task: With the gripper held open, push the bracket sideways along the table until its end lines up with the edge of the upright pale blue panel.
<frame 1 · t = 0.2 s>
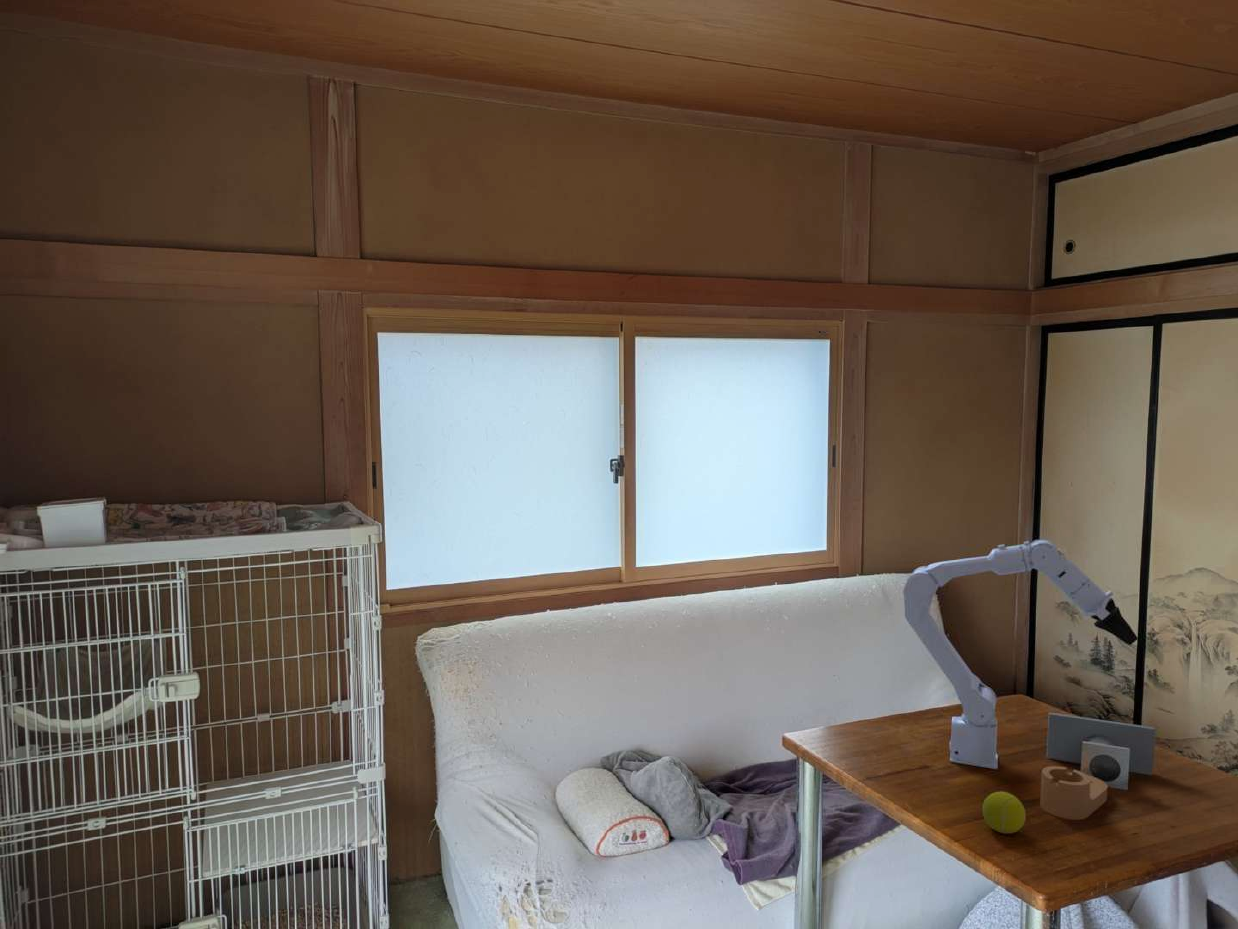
hand: (1131, 637, 172), 31 cm above the table, tool tilted 45°, fingers open, 7 cm apart
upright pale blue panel: (1100, 775, 179), on the table
tennis ball: (1002, 832, 155), on the table
bracket: (1073, 803, 167), on the table
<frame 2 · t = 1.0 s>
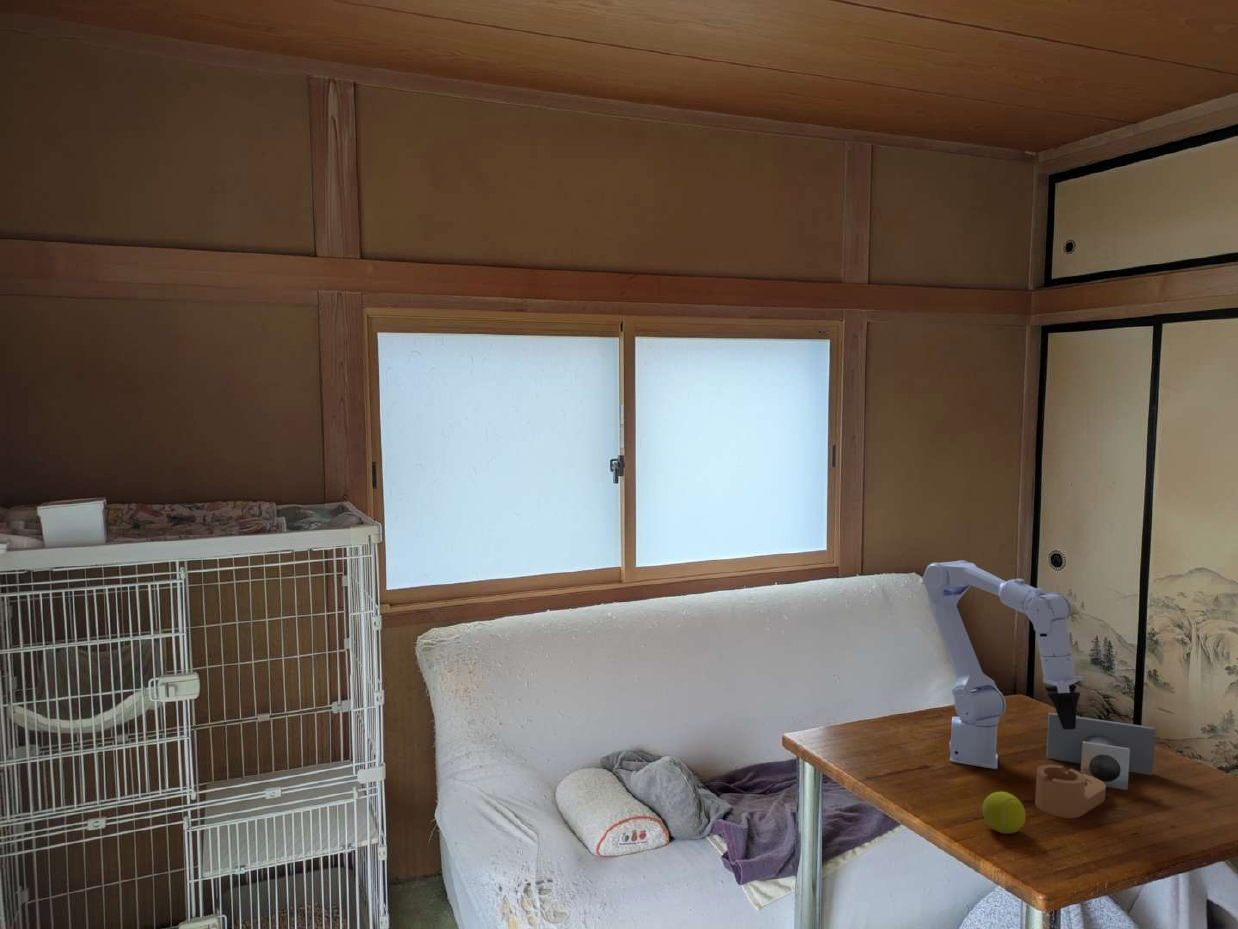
hand: (1067, 725, 166), 15 cm above the table, tool pointing down, fingers open, 7 cm apart
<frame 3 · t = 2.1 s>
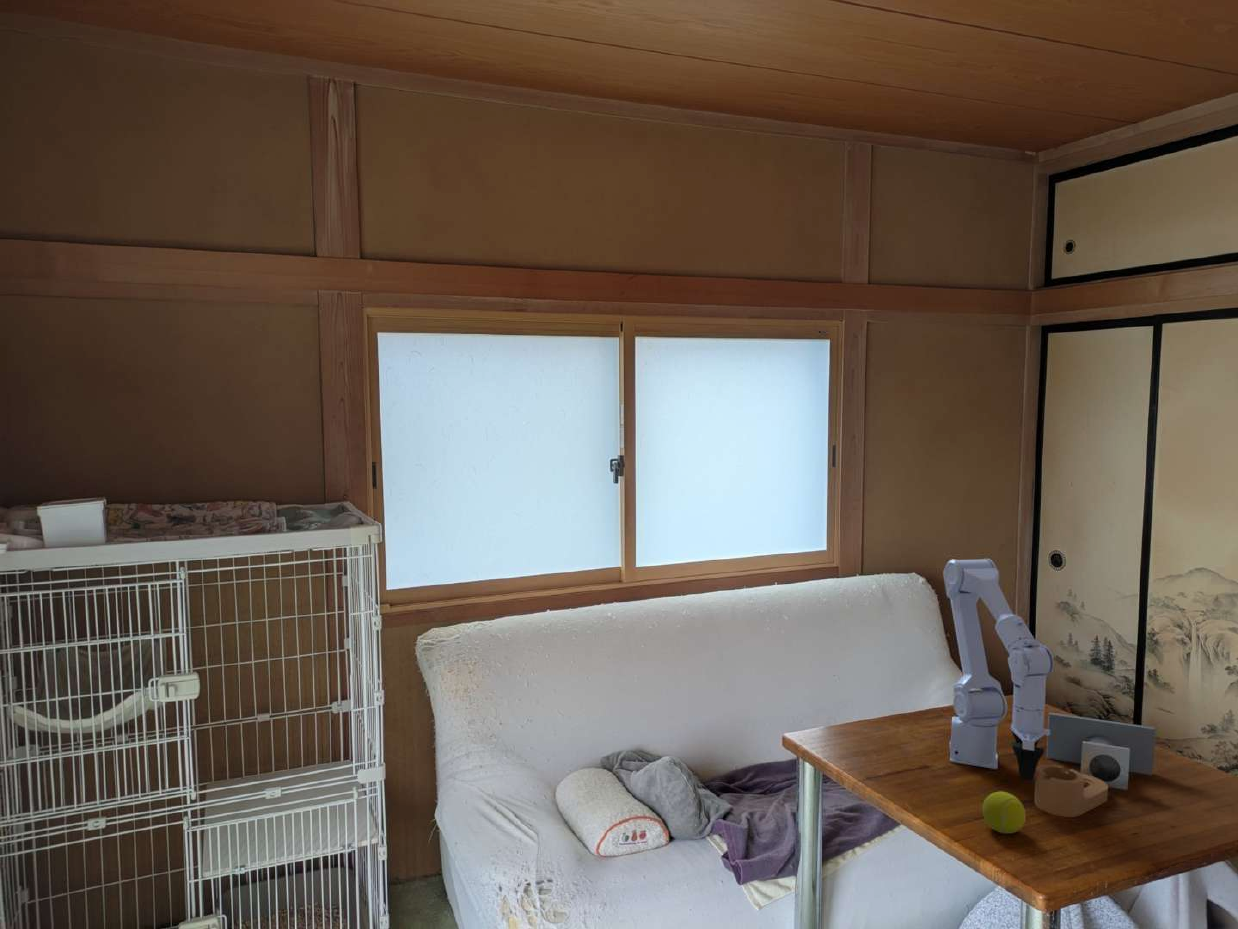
hand: (1025, 772, 170), 4 cm above the table, tool pointing down, fingers open, 7 cm apart
nothing on the table moved.
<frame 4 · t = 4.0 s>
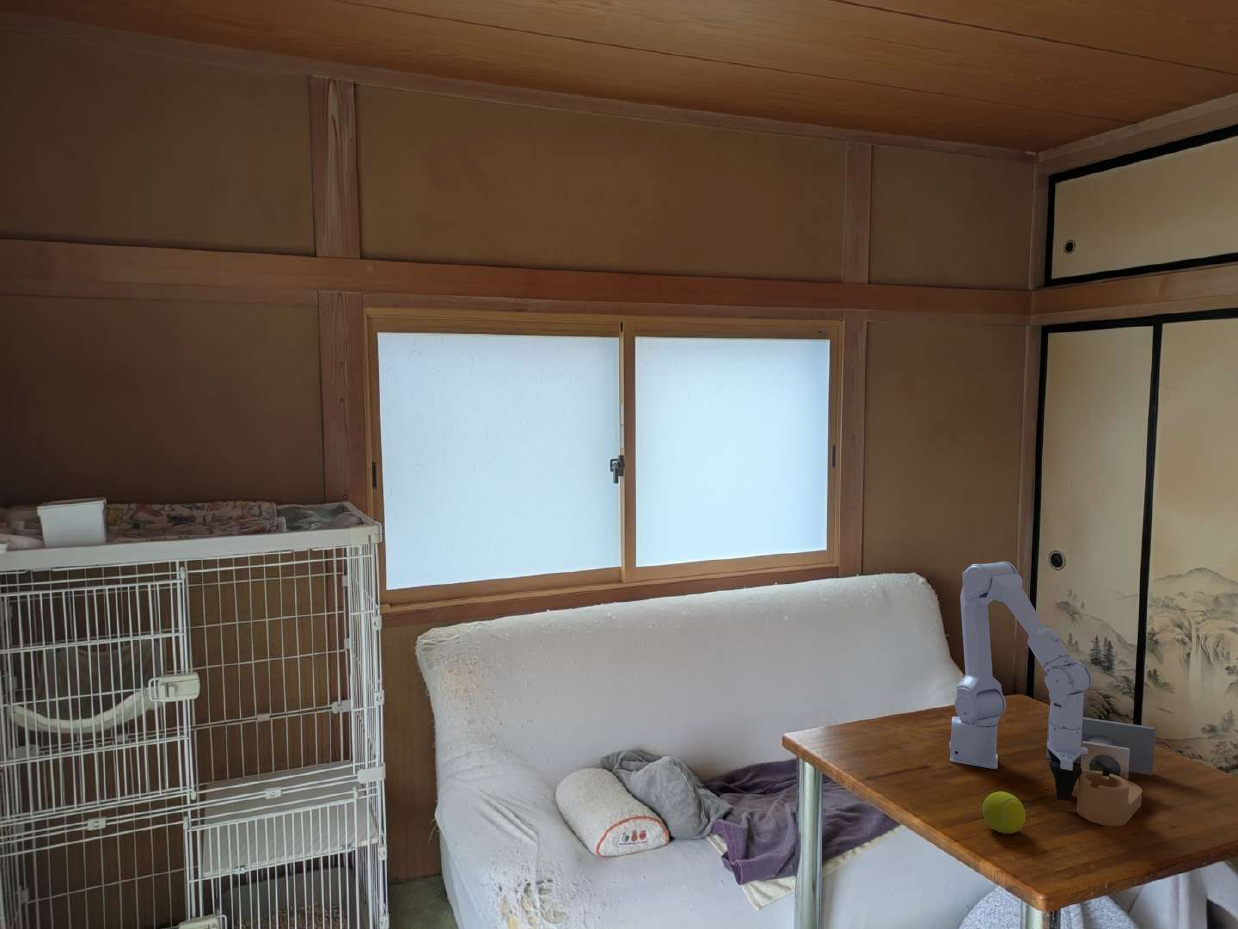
hand: (1062, 791, 168), 2 cm above the table, tool pointing down, fingers open, 7 cm apart
bracket: (1109, 808, 165), on the table, touching gripper
everything else where it was.
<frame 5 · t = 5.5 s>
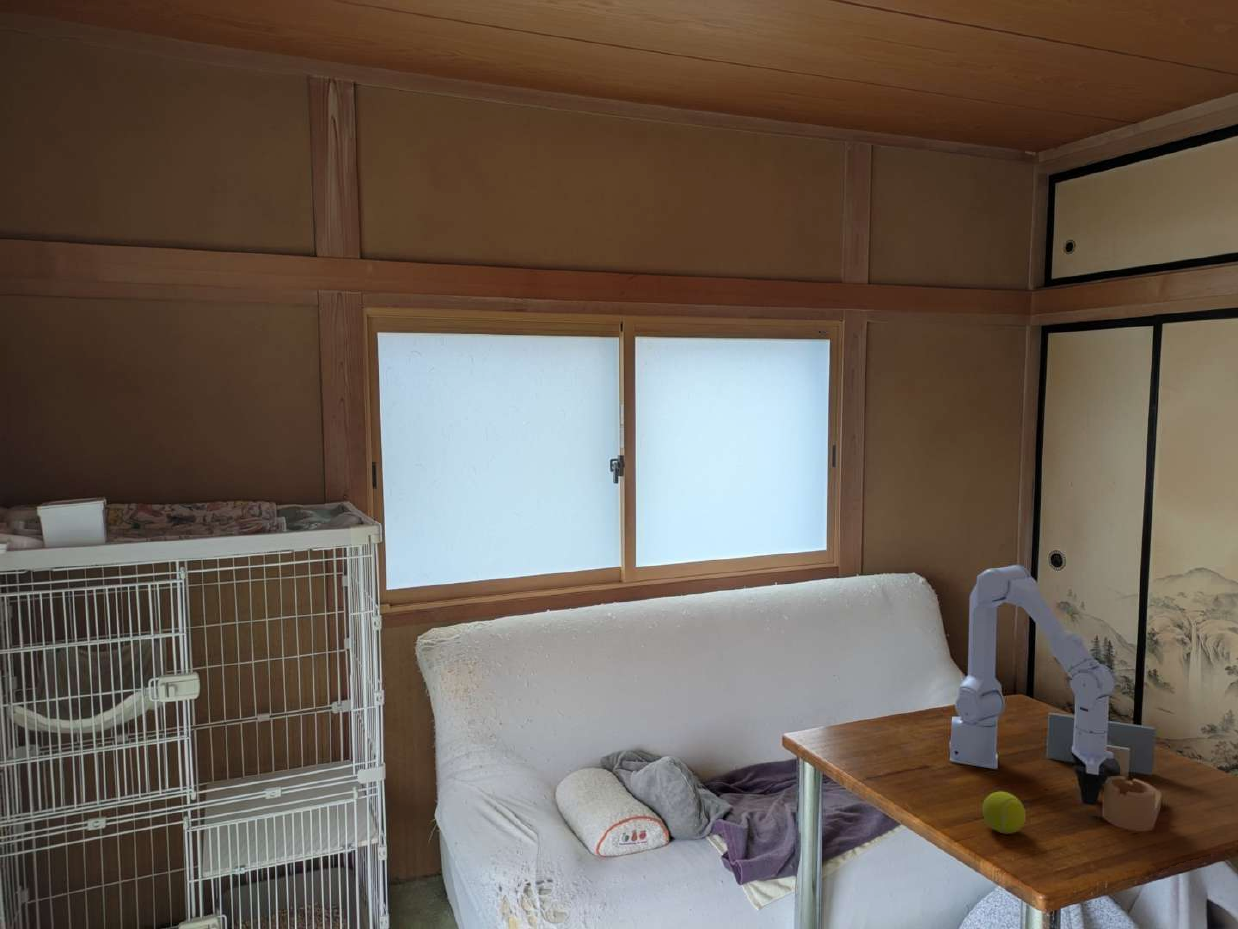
hand: (1086, 795, 166), 2 cm above the table, tool pointing down, fingers open, 7 cm apart
bracket: (1131, 813, 163), on the table
everything else where it was.
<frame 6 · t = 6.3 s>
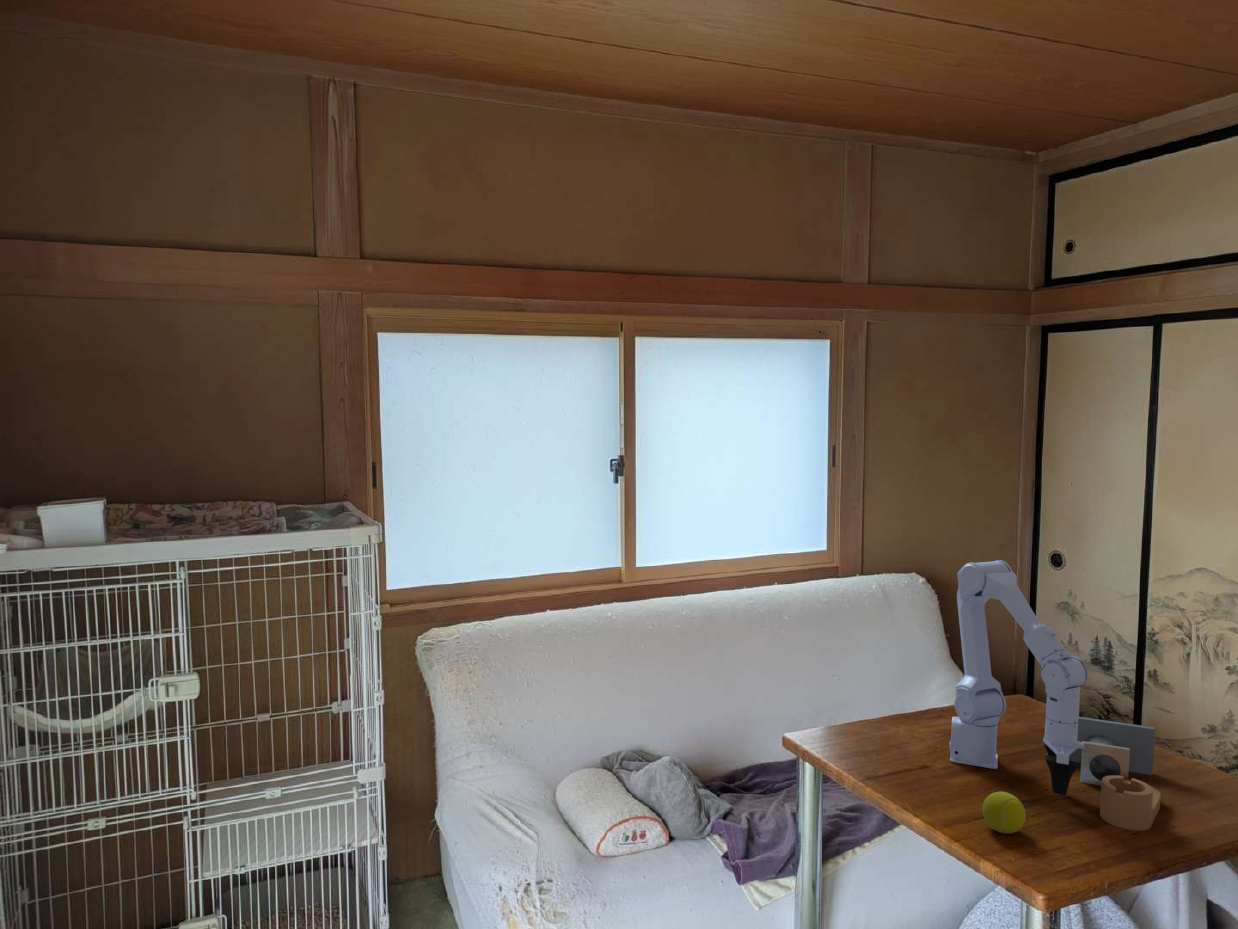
hand: (1058, 785, 168), 3 cm above the table, tool pointing down, fingers open, 7 cm apart
nothing on the table moved.
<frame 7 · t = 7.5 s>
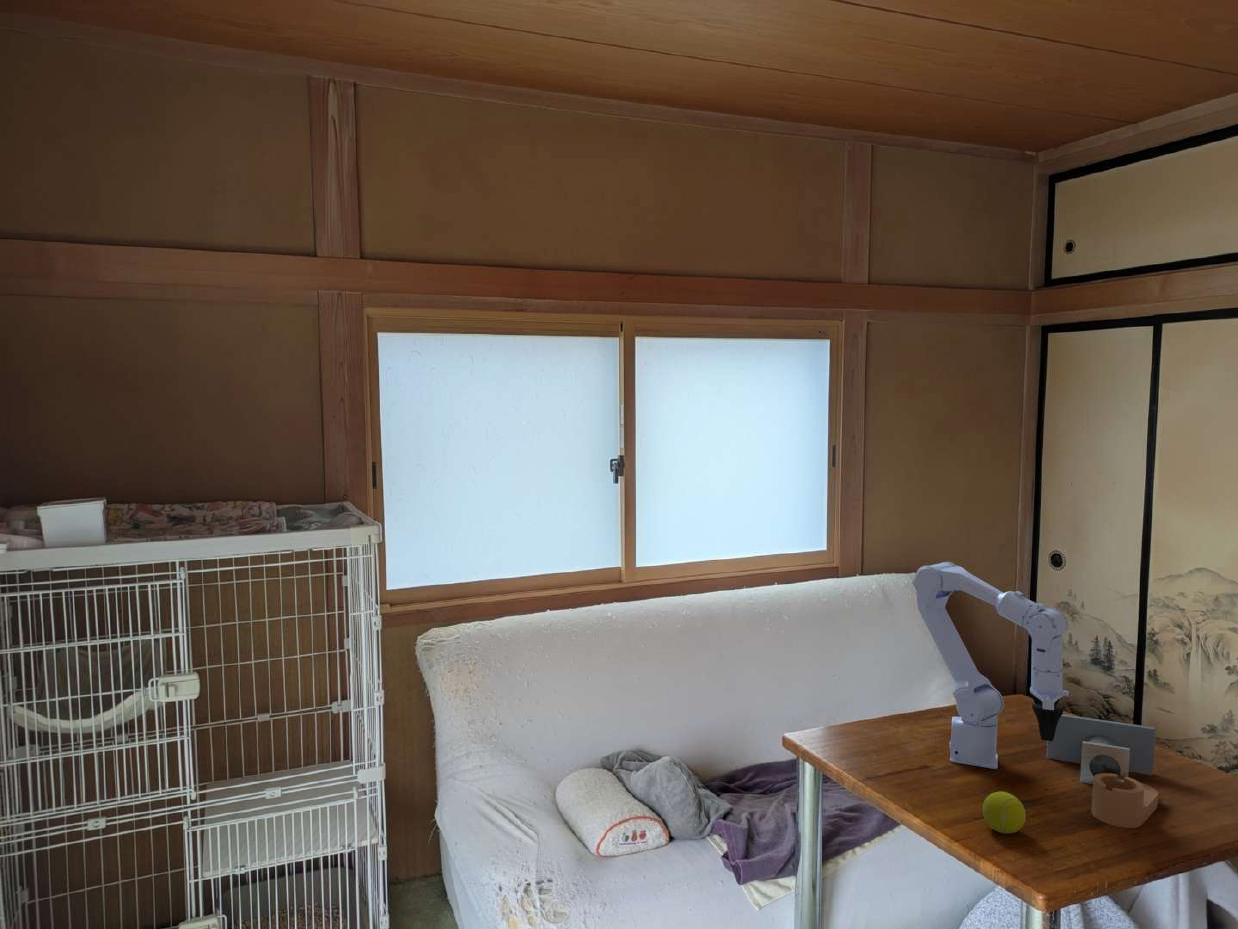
hand: (1046, 734, 174), 10 cm above the table, tool pointing down, fingers open, 7 cm apart
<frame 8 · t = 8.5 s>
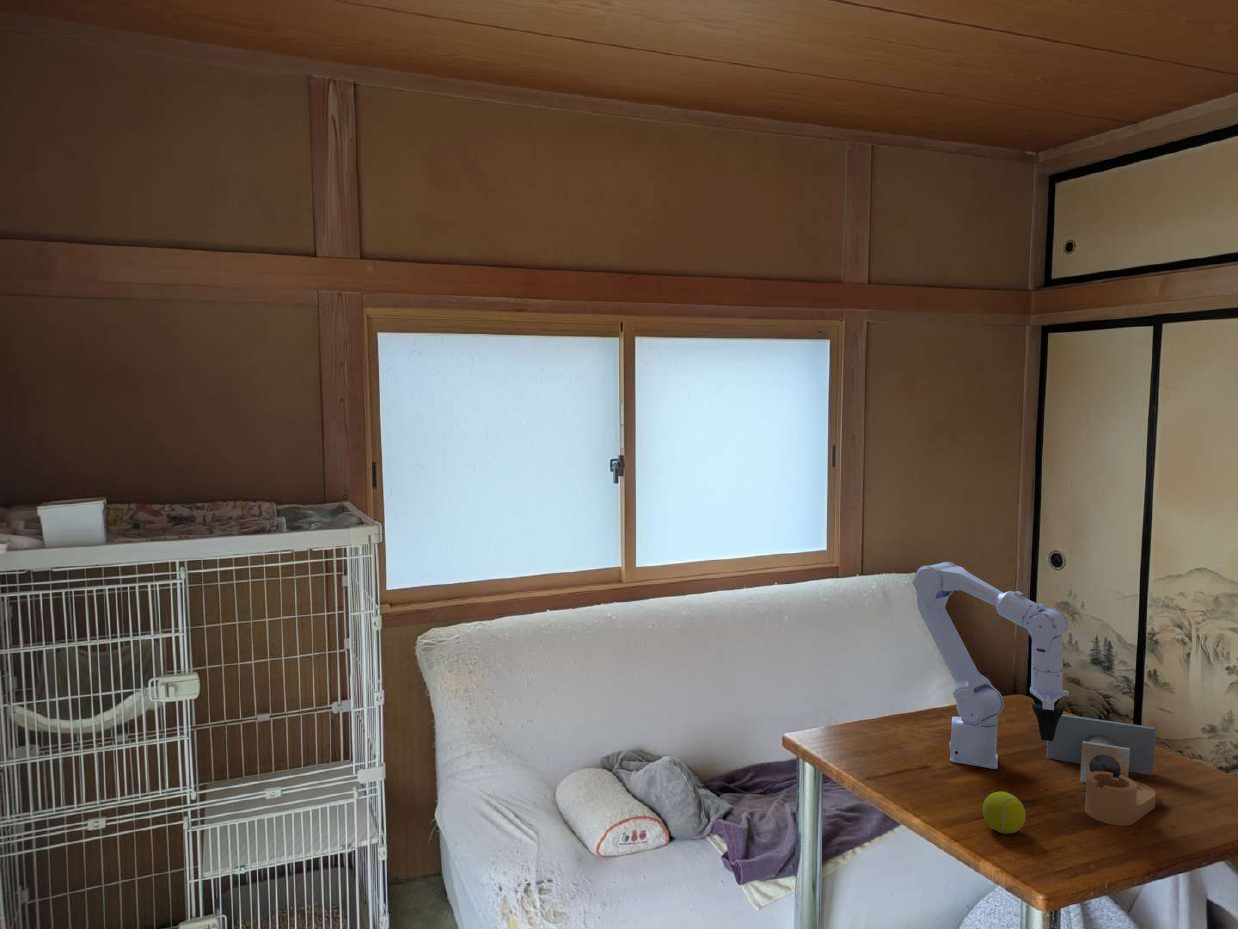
hand: (1046, 734, 174), 10 cm above the table, tool pointing down, fingers open, 7 cm apart
at the end: bracket 1.6 cm from the target spot, on the table; bracket moved 7.9 cm from its start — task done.
